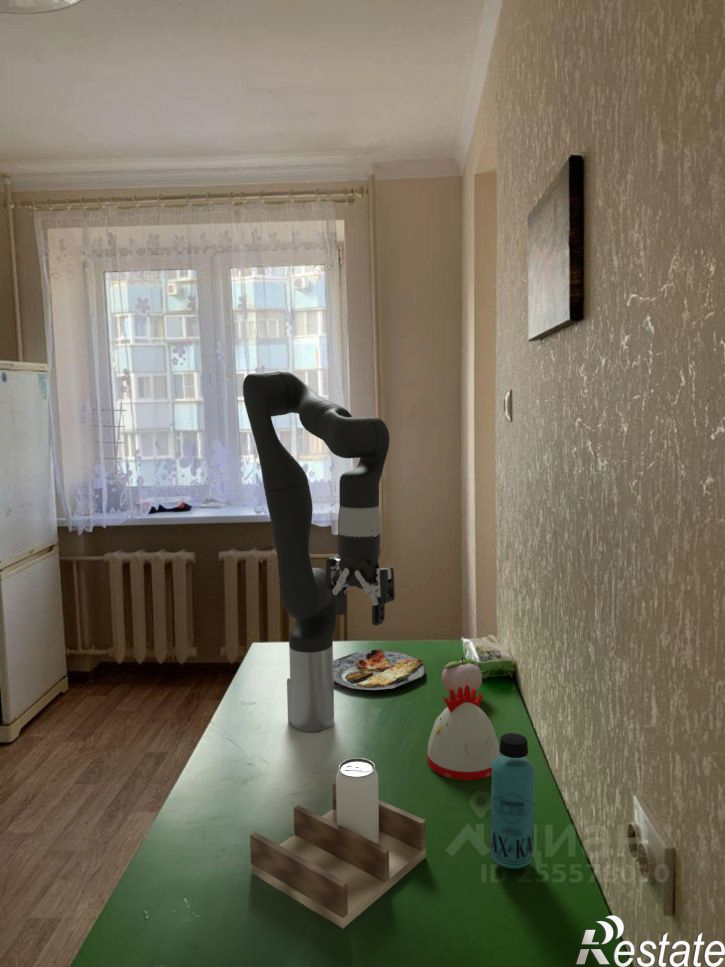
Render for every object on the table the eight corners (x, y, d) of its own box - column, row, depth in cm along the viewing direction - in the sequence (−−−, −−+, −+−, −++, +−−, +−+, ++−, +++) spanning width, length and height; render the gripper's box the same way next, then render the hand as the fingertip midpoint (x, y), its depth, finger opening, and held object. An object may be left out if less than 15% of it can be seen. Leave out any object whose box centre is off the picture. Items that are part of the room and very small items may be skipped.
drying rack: (251, 872, 107) (249, 835, 107) (337, 814, 122) (336, 781, 121) (343, 928, 96) (342, 886, 95) (425, 857, 110) (425, 820, 110)
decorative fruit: (458, 710, 161) (458, 667, 160) (436, 697, 168) (436, 655, 167) (490, 701, 166) (491, 658, 165) (468, 688, 173) (468, 648, 172)
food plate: (379, 650, 199) (379, 638, 198) (444, 674, 182) (443, 661, 181) (307, 678, 182) (307, 664, 182) (371, 707, 165) (371, 693, 165)
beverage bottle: (484, 852, 111) (485, 728, 109) (526, 849, 112) (528, 726, 109) (495, 881, 105) (496, 749, 102) (540, 877, 105) (542, 746, 103)
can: (375, 855, 108) (373, 779, 107) (332, 851, 110) (331, 776, 108) (382, 830, 115) (381, 758, 113) (342, 826, 116) (340, 754, 115)
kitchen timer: (414, 752, 143) (414, 679, 141) (474, 738, 148) (474, 667, 146) (451, 787, 130) (451, 707, 128) (515, 770, 136) (516, 693, 134)
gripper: (315, 528, 130) (315, 616, 132) (377, 539, 121) (376, 633, 123) (343, 522, 136) (343, 606, 138) (404, 532, 127) (403, 622, 129)
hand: (359, 619), depth 131 cm, fingers open, 8 cm apart
